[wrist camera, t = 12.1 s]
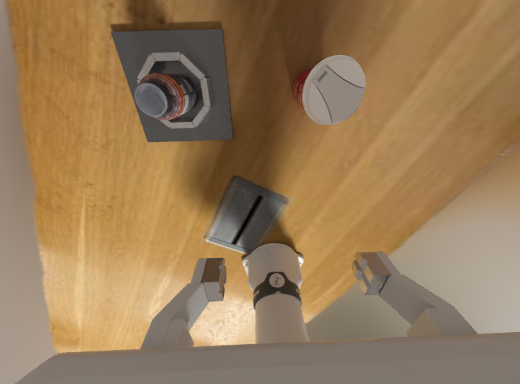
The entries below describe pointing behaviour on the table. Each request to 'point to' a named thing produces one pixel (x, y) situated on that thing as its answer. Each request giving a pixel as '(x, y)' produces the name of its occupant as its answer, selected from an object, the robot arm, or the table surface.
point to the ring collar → (188, 65)
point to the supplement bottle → (165, 95)
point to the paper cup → (331, 89)
